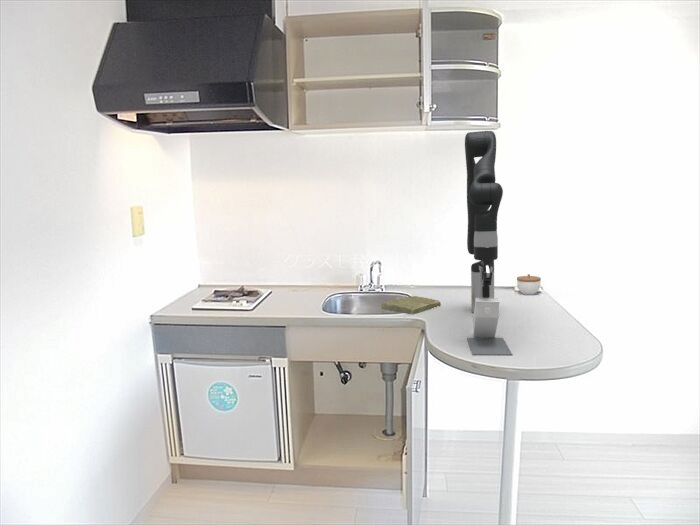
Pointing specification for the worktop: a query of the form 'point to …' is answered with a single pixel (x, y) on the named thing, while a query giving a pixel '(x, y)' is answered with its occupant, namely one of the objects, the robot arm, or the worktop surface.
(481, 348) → the mat
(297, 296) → the worktop surface
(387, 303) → the olive green towel
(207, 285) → the worktop surface
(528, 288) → the lidded jar
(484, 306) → the milk carton
